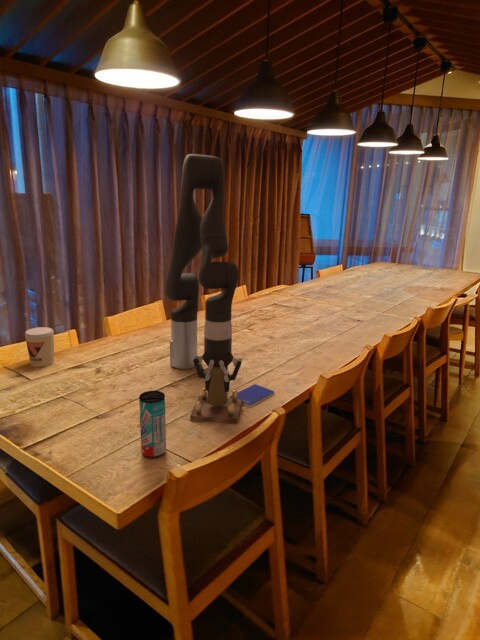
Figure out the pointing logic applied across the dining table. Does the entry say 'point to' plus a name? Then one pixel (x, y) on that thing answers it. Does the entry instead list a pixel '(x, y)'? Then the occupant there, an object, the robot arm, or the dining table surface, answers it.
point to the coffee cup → (40, 346)
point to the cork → (217, 387)
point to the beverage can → (152, 424)
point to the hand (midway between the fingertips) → (217, 391)
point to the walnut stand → (216, 410)
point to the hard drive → (253, 395)
